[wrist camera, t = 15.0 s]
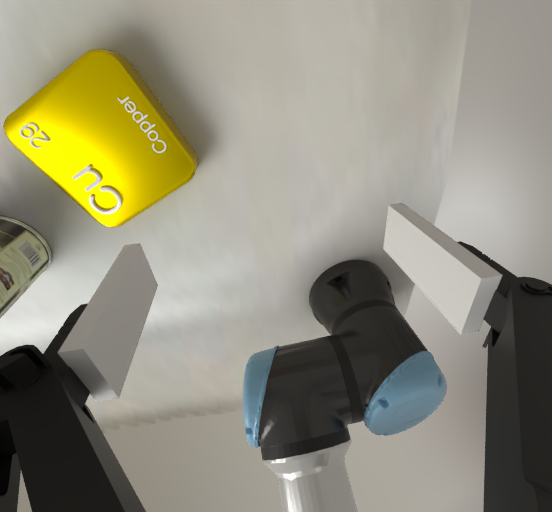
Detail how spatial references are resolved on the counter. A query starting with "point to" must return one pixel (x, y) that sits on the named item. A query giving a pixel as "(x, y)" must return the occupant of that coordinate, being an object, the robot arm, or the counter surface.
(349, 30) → the counter surface
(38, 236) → the coffee can
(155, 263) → the counter surface
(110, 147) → the element tile
